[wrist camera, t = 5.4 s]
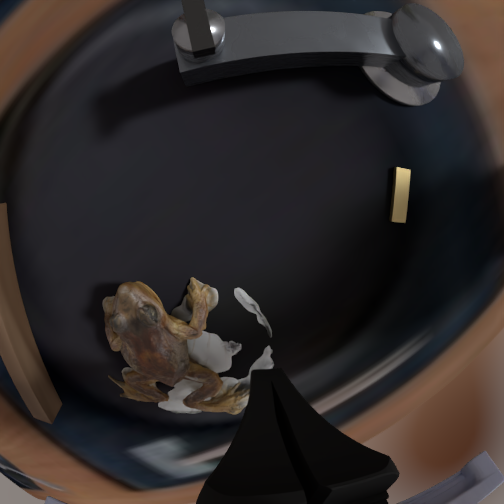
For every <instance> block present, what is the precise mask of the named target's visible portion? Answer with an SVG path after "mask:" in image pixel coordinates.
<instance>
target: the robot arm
mask: <svg viewBox="0 0 504 504" xmlns="http://www.w3.org/2000/svg"><path fill="white" fill-rule="evenodd" d="M398 477H399V472H398V470H397V468H396V466H395V464H394V463H393V461H392V460H391V458H390V457H389V456H387V455H385V454H382V453H380V452H377V451H375V450H372V449H370V448H368V447H366V446H364V445H362V444H360V443H358V442H356V441H355V440H353V439H351V438H350V437H348V436H347V435H345V434H343V433H342V432H340V431H339V430H338V429H336V428H335V427H334V426H332V425H331V424H330V423H329V422H327V421H326V420H325V419H324V418H323V417H322V416H321V415H320V414H318V413H317V412H316V411H315V410H314V409H313V408H312V407H311V405H310V404H309V403H308V402H307V401H306V400H305V399H304V398H303V396H302V395H301V394H300V393H299V392H298V391H297V389H296V388H295V387H294V385H293V384H292V383H291V381H290V380H289V379H288V377H287V376H286V374H285V373H284V371H283V370H282V369H281V368H277V369H253V370H252V371H251V375H250V393H249V399H248V403H247V407H246V410H245V413H244V416H243V419H242V421H241V424H240V426H239V429H238V431H237V433H236V435H235V437H234V439H233V441H232V443H231V445H230V447H229V449H228V450H227V452H226V453H225V455H224V457H223V458H222V460H221V461H220V463H219V464H218V466H217V467H216V469H215V470H214V471H213V472H212V474H211V475H210V476H209V477H208V479H207V480H206V481H205V483H204V486H203V488H202V490H201V492H200V494H199V496H198V499H197V502H196V504H388V502H387V500H386V499H388V497H389V495H388V493H387V491H386V490H387V489H388V488H389V487H390V486H391V485H392V484H393V483H394V482H395V481H396V480H397V478H398ZM503 482H504V476H503V475H502V473H501V472H500V470H499V469H498V468H497V466H496V465H495V463H494V462H493V461H492V459H491V458H490V457H489V455H488V454H487V452H486V451H483V452H482V453H480V454H479V455H477V456H476V457H475V458H473V459H472V460H470V461H469V462H468V463H467V464H466V465H465V466H464V467H463V468H462V469H461V471H459V472H457V473H456V474H454V475H452V476H451V477H449V478H447V479H446V480H444V481H442V482H440V483H438V484H437V485H435V486H433V487H431V488H429V489H427V490H426V491H423V492H421V493H419V494H417V495H415V496H413V497H411V498H409V499H406V500H404V501H402V502H400V503H397V504H478V503H479V502H480V501H482V500H483V499H484V498H485V497H487V496H488V495H489V494H490V493H491V492H492V491H494V490H495V489H496V488H497V487H498V486H499V485H501V484H502V483H503ZM45 504H67V503H64V502H62V501H59V500H57V499H55V498H52V497H50V496H47V498H46V501H45Z"/></svg>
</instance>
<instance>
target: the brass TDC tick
mask: <svg viewBox="0 0 504 504" xmlns="http://www.w3.org/2000/svg"><path fill="white" fill-rule="evenodd" d="M409 184H410V170H408V169H404V168H399V167H394V172H393V186H392V197H391V207H390V216H389V221H391V222H401V223H405V222H406V214H407V206H408V196H409Z"/></svg>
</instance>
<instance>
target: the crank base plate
mask: <svg viewBox="0 0 504 504" xmlns="http://www.w3.org/2000/svg"><path fill="white" fill-rule="evenodd" d="M364 15H370V16H377V17H383V18H388V17H389V16H391V15H392V14H391V13H387V12H381V11H373V12H369V13H366V14H364ZM359 68H360V69H361V71H362V73H363V74H364V75H365V77H366V78H367V79H368V80H369V81H370V83H371V84H372V85H373V86H374V87H375V88H376V89H377V90H378V91H380V92H381V93H382V94H383V95H385V96H386V97H388V98H389V99H391V100H393V101H395V102H397V103H400V104H403V105H407V106H419V105H423V104H426V103H428V102H430V101H431V100H433V99H434V98H435V96H436V95H437V93H438V91H439V88H440V82H438V83H434V84H431V85H428V86H424V87H420V88H416V87H411V86H408V85H406V84H404V83H402V82H400V81H399V80H397V79H396V78H395V77H394V76H393V75H391V74H390V73H389V72H388V70H387V69H386V68H385V67H376V66H359Z"/></svg>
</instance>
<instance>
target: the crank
mask: <svg viewBox="0 0 504 504" xmlns="http://www.w3.org/2000/svg"><path fill="white" fill-rule="evenodd" d="M182 5H183V10H184V14H183V15H181V16H180V17H179V18H178V19H177V20H176V21H175V23H174V24H173V27H172V29H171V30H172V35H173V40H174V45H175V51H176V56H177V61H178V66H179V70H180V74H181V76H182V78H183V80H184V83H185V85H186V87H189V86H193V85H197V84H201V83H205V82H209V81H214V80H218V79H223V78H228V77H233V76H239V75H245V74H251V73H257V72H264V71H272V70H280V69H290V68H302V67H318V66H376V67H385V68H386V69H387V70H388V72H389V73H390V74H391V75H393V76H394V77H395V78H396V79H397V80H399V81H400V82H402V83H404V84H406V85H408V86H411V87H416V88H420V87H424V86H428V85H431V84H434V83H438V82H441V81H445V80H449V79H452V78H456V77H458V76H459V75H460V74H461V73H462V71H463V67H464V58H463V53H462V50H461V47H460V44H459V42H458V40H457V38H456V36H455V35H454V33H453V31H452V30H451V29H450V27H449V26H448V25H447V24H446V23H445V21H444V20H443V19H442V18H441V17H439V16H438V15H437V14H436V13H434V12H433V11H432V10H430V9H428V8H426V7H424V6H422V5H419V4H414V3H410V4H406V5H404V6H403V7H401V8H400V9H399V10H397V11H396V12H395V13H393V14H392V15H391V16H389V17H388V18H383V17H377V16H370V15H362V14H353V13H341V12H324V11H286V12H268V13H257V14H247V15H239V16H232V17H226V18H222V17H221V15H219V14H218V13H217V12H215V11H212V10H209V9H206V8H205V4H204V0H182Z"/></svg>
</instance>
